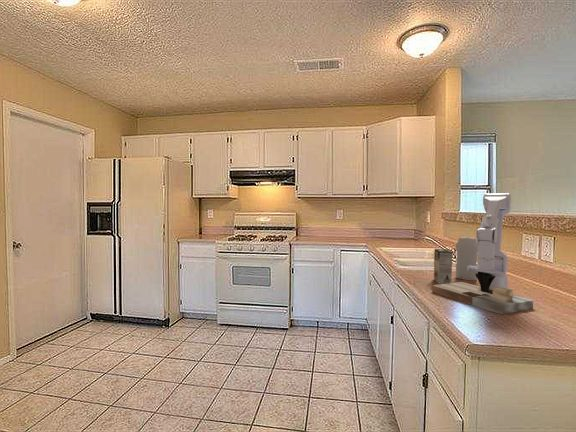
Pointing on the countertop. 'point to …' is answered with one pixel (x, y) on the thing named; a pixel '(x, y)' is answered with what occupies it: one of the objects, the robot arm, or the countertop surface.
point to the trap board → (481, 298)
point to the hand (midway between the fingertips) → (484, 291)
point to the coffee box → (442, 266)
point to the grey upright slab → (466, 258)
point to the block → (502, 293)
